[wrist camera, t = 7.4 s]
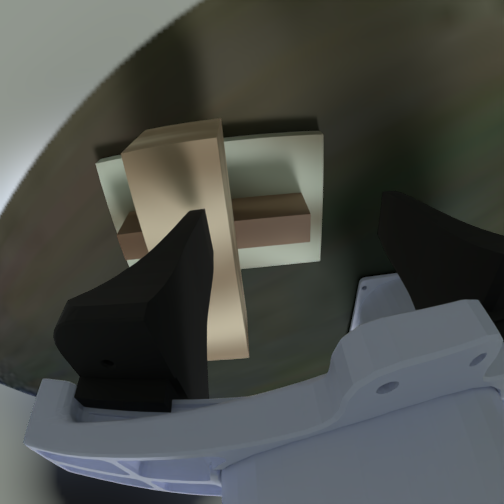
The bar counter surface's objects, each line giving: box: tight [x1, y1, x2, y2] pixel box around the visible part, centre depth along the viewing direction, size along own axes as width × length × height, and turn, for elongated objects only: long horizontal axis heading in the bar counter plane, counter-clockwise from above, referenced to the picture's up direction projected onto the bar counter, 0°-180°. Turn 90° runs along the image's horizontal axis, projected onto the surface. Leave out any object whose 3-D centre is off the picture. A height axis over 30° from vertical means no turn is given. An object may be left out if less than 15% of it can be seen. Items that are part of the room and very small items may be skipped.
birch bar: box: [121, 118, 249, 361], centre depth 17 cm, size 14×4×4 cm, turn 5°
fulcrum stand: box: [96, 131, 323, 269], centre depth 20 cm, size 10×15×4 cm, turn 95°
